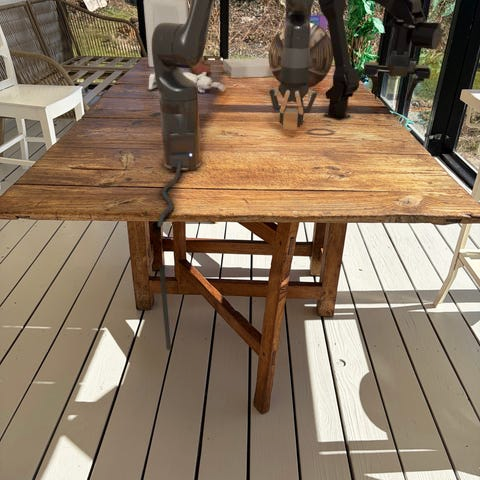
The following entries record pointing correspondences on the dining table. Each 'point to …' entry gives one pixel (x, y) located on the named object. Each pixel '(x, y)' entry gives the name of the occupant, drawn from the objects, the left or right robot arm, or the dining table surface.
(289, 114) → the brick
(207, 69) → the anatomical model
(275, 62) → the sphere
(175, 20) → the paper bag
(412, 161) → the dining table surface
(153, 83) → the toy
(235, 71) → the disc drive
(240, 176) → the dining table surface
